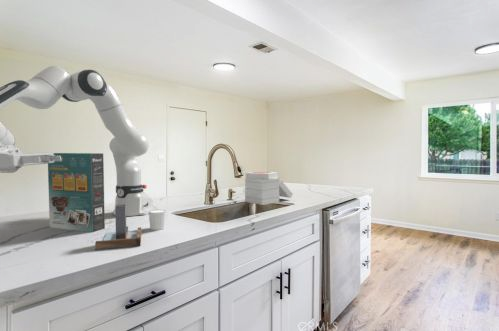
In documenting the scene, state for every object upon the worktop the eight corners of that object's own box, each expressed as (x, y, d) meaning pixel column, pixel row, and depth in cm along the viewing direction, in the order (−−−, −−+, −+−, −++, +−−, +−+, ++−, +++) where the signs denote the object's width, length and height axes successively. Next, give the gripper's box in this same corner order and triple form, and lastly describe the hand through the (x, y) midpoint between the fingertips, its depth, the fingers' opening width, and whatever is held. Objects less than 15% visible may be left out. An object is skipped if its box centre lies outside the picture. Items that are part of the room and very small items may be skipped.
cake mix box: (104, 228, 119) (103, 153, 118) (92, 232, 113) (90, 153, 112) (63, 223, 126) (61, 153, 124) (49, 227, 120) (47, 153, 118)
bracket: (125, 241, 100) (125, 206, 99) (115, 242, 99) (115, 206, 98) (128, 231, 112) (127, 200, 112) (119, 232, 111) (118, 200, 111)
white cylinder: (161, 225, 124) (161, 208, 124) (169, 228, 119) (169, 211, 119) (145, 228, 119) (145, 211, 119) (153, 231, 114) (153, 213, 114)
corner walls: (102, 237, 107) (102, 230, 107) (141, 234, 111) (141, 227, 111) (95, 250, 93) (95, 242, 93) (140, 245, 97) (140, 238, 97)
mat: (106, 233, 111) (106, 232, 111) (141, 230, 115) (141, 229, 115) (98, 249, 93) (98, 248, 93) (140, 245, 97) (140, 244, 97)
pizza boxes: (295, 200, 189) (295, 172, 189) (261, 205, 169) (262, 174, 168) (272, 196, 203) (273, 170, 203) (239, 201, 183) (240, 172, 182)
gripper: (30, 166, 105) (69, 166, 106) (-21, 171, 85) (29, 171, 85) (29, 148, 105) (69, 148, 105) (-22, 149, 84) (27, 149, 85)
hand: (50, 159), depth 95 cm, fingers open, 8 cm apart
